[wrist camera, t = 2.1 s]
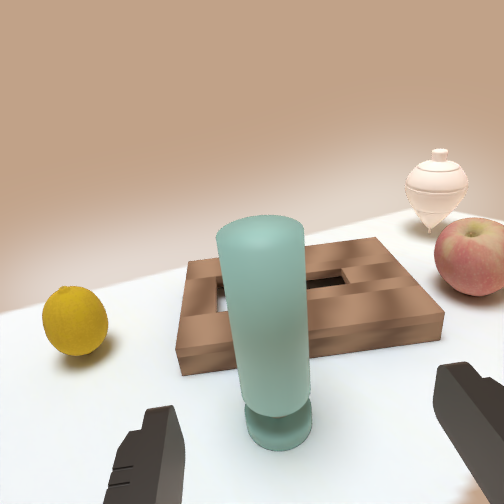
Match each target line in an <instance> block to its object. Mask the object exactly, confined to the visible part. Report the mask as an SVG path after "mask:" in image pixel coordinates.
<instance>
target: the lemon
mask: <svg viewBox="0 0 504 504" xmlns="http://www.w3.org/2000/svg"><path fill="white" fill-rule="evenodd" d="M42 320H43V326H44V330H45V333H46V336H47V338H48V340H49V341H50V343H51V344H52V345H53V346H54V347H55V348H56V349H57V350H59V351H60V352H62V353H64V354H67V355H73V356H79V355H84V354H90V353H91V352H92V351H93V350H95V349H96V348H97V347H99V346H100V345H101V343H102V342H103V340H104V339H105V337H106V334H107V330H108V318H107V314H106V311H105V308H104V306H103V304H102V303H101V301H100V300H99V299H98V297H97V296H96V295H95V294H94V293H93V292H91V291H90V290H88V289H85V288H83V287H77V286H70V287H67V286H62V287H60V288H59V290H58V291H56V292H55V293H53V294H52V295H51V296H50V297H49V299H48V300H47V302H46V303H45V305H44V308H43V313H42Z"/></svg>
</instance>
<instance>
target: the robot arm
mask: <svg viewBox="0 0 504 504" xmlns="http://www.w3.org/2000/svg"><path fill="white" fill-rule="evenodd" d="M433 408H434V412H435V415H436V417H437V419H438V421H439V423H440V425H441V426H442V428H443V429H444V431H445V433H446V434H447V436H448V437H449V439H450V441H451V442H452V444H453V445H454V447H455V448H456V450H457V452H458V453H459V455H460V456H461V458H462V460H463V461H464V463H465V464H466V466H467V467H468V469H469V471H470V472H471V474H472V475H473V477H474V479H475V480H476V482H477V483H478V485H479V487H480V488H481V490H482V491H483V493H484V494H485V496H486V498H487V499H488V501H489V502H490V504H504V386H503V385H501V384H500V383H498V382H497V381H495V380H494V379H492V378H490V377H487V378H482V377H481V376H480V375H479V374H478V372H477V371H476V370H475V369H474V368H473V367H472V366H471V365H470V364H469V363H468V362H458V363H451V364H445V365H440V366H439V367H438V368H437V374H436V381H435V388H434V395H433ZM184 467H185V444H184V438H183V435H182V432H181V428H180V425H179V422H178V419H177V415H176V412H175V409H174V407H173V405H170V406H163V407H156V408H150V409H147V410H146V412H145V415H144V419H143V424H142V429H141V430H135V431H129V433H128V434H127V436H126V437H125V439H124V440H123V442H122V443H121V445H120V446H119V448H118V450H117V453H116V457H115V461H114V465H113V468H112V469H113V472H112V473H111V476H110V480H109V483H108V489H107V491H106V494H105V498H104V502H103V504H181V502H182V491H183V479H184Z"/></svg>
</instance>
